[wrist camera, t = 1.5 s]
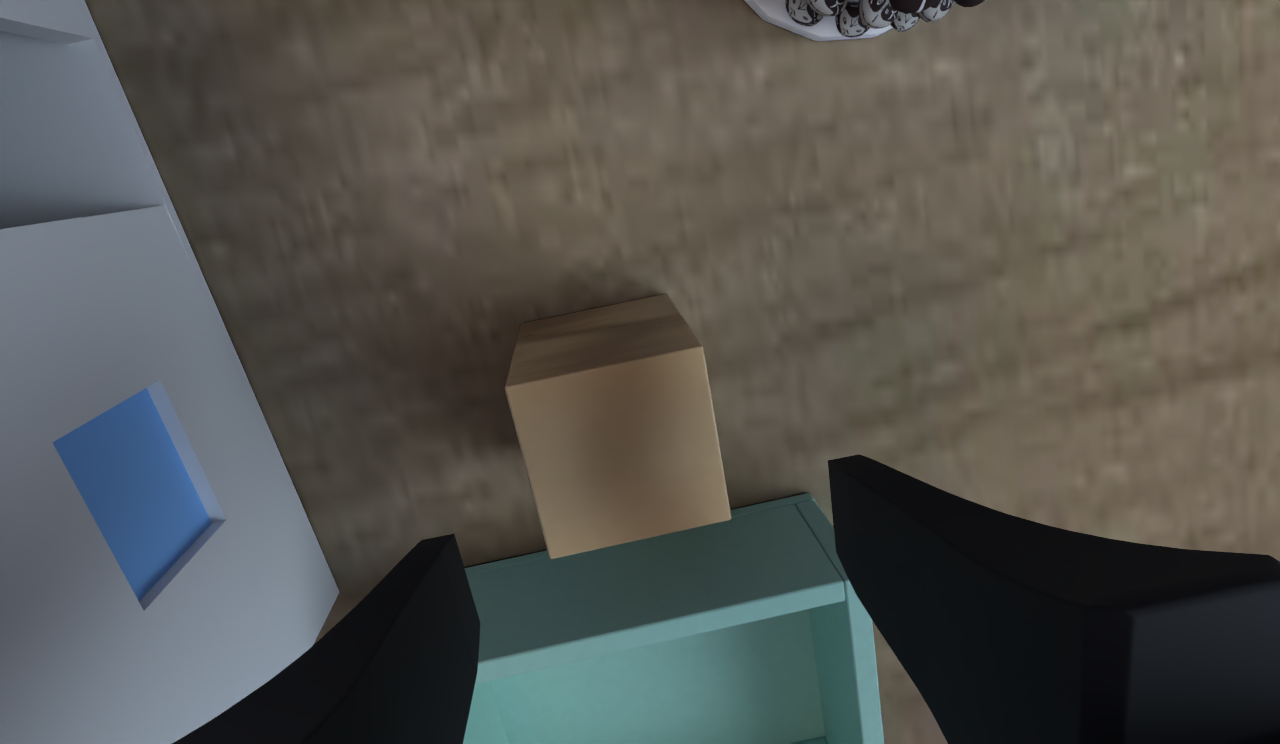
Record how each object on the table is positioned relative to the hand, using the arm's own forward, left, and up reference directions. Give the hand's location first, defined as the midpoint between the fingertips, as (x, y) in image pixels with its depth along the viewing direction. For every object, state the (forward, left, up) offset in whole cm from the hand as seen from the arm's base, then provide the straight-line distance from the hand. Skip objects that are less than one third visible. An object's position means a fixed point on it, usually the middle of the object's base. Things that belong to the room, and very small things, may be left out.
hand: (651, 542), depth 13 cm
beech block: (0, 0, -10) cm, 10 cm away
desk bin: (-1, -11, -10) cm, 14 cm away
